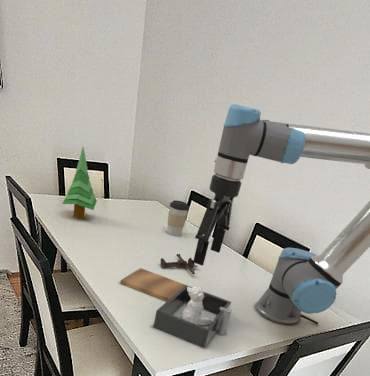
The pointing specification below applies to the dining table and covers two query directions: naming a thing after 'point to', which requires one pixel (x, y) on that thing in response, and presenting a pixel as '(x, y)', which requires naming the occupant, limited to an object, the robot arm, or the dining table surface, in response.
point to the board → (152, 284)
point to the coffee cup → (177, 217)
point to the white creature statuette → (195, 307)
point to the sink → (187, 328)
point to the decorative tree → (81, 190)
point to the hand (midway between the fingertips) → (207, 257)
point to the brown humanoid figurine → (179, 263)
